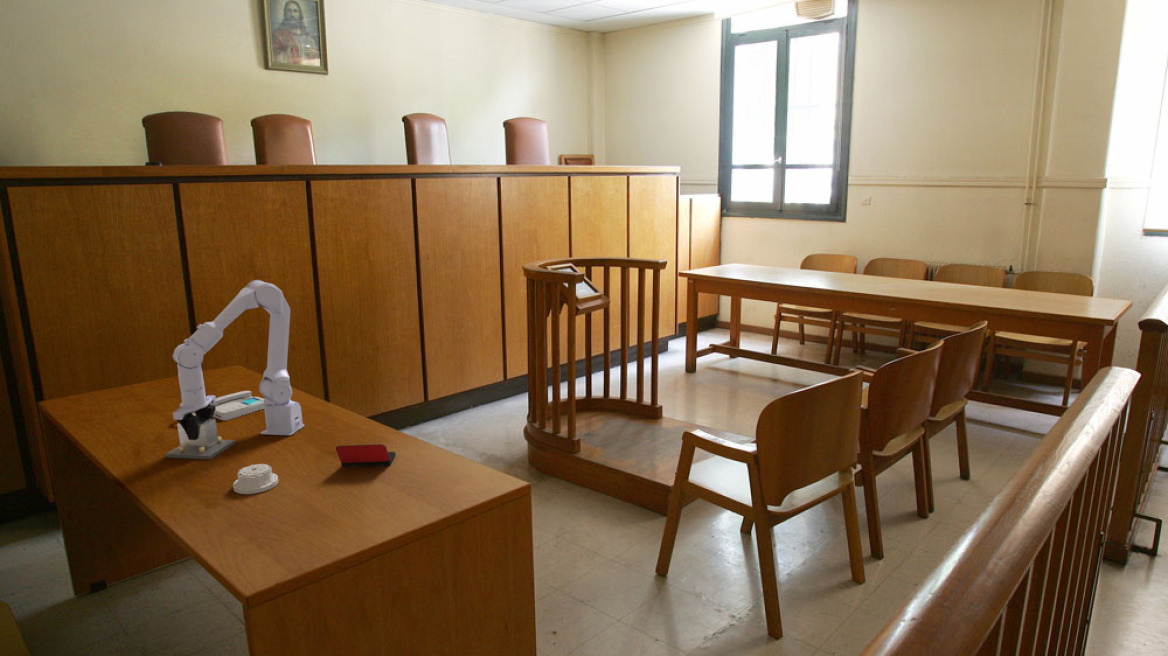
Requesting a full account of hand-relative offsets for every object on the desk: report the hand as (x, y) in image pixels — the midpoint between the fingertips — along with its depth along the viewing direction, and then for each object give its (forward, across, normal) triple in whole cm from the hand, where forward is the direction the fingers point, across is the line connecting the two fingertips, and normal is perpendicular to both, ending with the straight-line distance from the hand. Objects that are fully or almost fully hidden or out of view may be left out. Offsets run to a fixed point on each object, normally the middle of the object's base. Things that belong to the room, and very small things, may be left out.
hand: (199, 435), depth 196 cm
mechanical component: (+5, +19, +28) cm, 34 cm away
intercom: (+5, -28, -13) cm, 31 cm away
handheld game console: (+5, +4, +50) cm, 50 cm away
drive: (+2, 0, 0) cm, 2 cm away
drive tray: (+4, 0, 0) cm, 4 cm away
